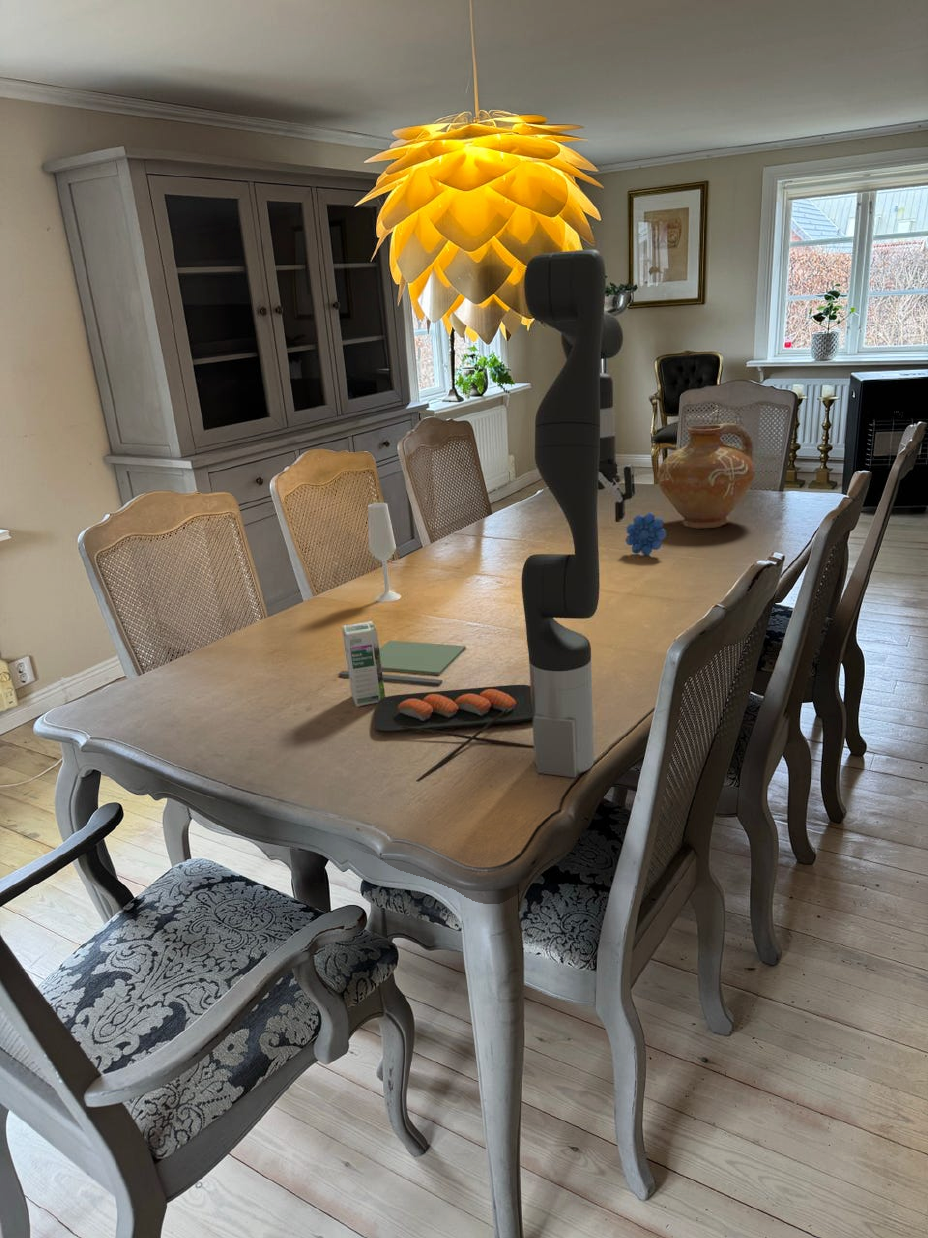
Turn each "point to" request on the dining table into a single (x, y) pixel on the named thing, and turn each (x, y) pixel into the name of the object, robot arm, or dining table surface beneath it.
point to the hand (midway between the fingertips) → (596, 520)
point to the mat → (418, 657)
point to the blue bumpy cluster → (645, 534)
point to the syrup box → (363, 663)
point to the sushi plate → (455, 712)
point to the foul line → (403, 679)
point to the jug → (708, 475)
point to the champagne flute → (382, 543)
